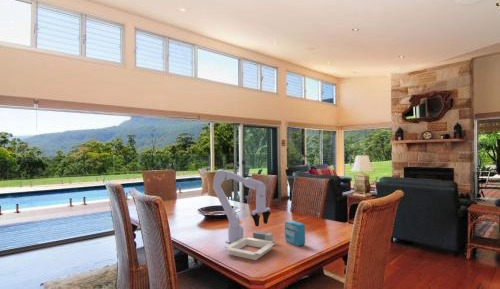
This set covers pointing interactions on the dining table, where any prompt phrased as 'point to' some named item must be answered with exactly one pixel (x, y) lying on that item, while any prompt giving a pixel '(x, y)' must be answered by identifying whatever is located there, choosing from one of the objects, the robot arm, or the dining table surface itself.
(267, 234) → the box
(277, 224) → the dining table surface
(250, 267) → the dining table surface
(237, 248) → the cream square frame
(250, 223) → the dining table surface
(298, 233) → the data package
